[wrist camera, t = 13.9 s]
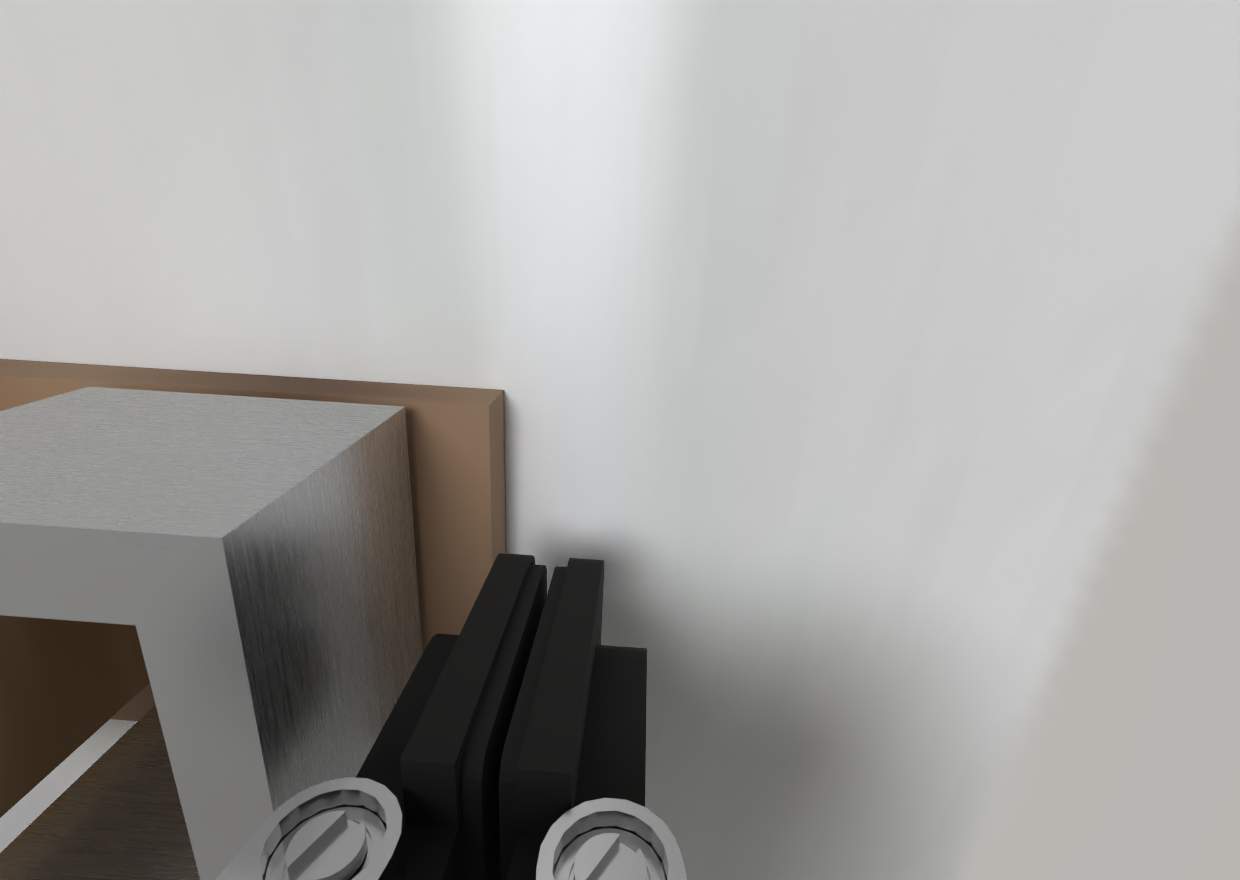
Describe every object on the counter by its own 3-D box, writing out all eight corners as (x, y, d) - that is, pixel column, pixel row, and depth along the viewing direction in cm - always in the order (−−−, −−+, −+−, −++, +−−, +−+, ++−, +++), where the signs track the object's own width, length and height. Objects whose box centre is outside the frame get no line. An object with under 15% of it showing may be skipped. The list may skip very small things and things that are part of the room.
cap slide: (174, 736, 12) (-67, 994, 8) (89, 386, 9) (-319, 500, 5) (430, 757, 12) (314, 1031, 8) (405, 406, 9) (221, 537, 5)
